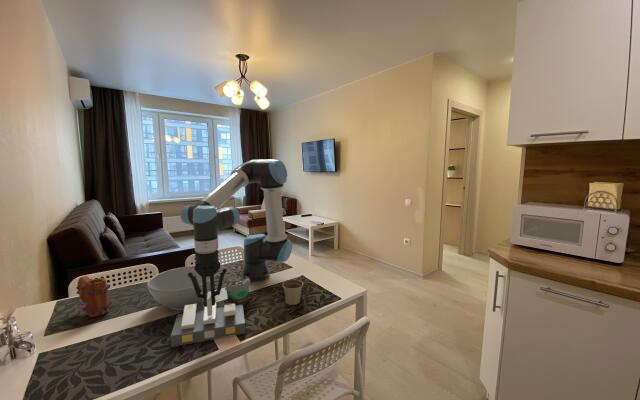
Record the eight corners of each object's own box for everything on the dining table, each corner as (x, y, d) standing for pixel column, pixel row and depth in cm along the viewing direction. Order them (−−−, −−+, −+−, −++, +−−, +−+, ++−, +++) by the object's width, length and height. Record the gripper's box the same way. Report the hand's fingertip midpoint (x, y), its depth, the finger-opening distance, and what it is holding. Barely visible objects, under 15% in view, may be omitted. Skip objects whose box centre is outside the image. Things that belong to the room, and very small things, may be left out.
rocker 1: (185, 308, 101) (184, 305, 100) (196, 307, 102) (196, 303, 102) (181, 329, 92) (181, 325, 92) (194, 327, 94) (193, 323, 93)
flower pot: (300, 308, 115) (300, 289, 114) (279, 306, 117) (279, 287, 116) (305, 298, 124) (305, 280, 123) (286, 296, 126) (286, 278, 125)
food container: (235, 311, 112) (234, 288, 111) (225, 307, 115) (224, 285, 114) (256, 299, 123) (256, 278, 121) (247, 295, 126) (246, 275, 125)
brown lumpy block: (116, 310, 112) (114, 276, 110) (95, 321, 104) (91, 284, 102) (93, 304, 116) (90, 271, 115) (71, 314, 109) (67, 279, 107)
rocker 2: (205, 307, 103) (205, 303, 103) (216, 305, 105) (216, 302, 104) (203, 324, 94) (203, 320, 94) (215, 322, 96) (215, 318, 95)
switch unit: (178, 324, 103) (177, 311, 102) (242, 313, 111) (242, 302, 110) (171, 347, 89) (170, 333, 89) (245, 333, 97) (244, 320, 97)
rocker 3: (224, 309, 106) (224, 304, 106) (235, 307, 107) (235, 303, 107) (224, 316, 96) (224, 311, 96) (235, 314, 98) (235, 309, 98)
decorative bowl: (227, 302, 119) (226, 276, 118) (160, 328, 100) (158, 297, 98) (201, 284, 137) (200, 262, 136) (141, 303, 118) (139, 277, 117)
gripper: (184, 256, 87) (188, 323, 90) (226, 251, 91) (229, 316, 94) (187, 249, 94) (191, 311, 97) (226, 245, 98) (229, 305, 101)
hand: (210, 313), depth 96 cm, fingers closed
